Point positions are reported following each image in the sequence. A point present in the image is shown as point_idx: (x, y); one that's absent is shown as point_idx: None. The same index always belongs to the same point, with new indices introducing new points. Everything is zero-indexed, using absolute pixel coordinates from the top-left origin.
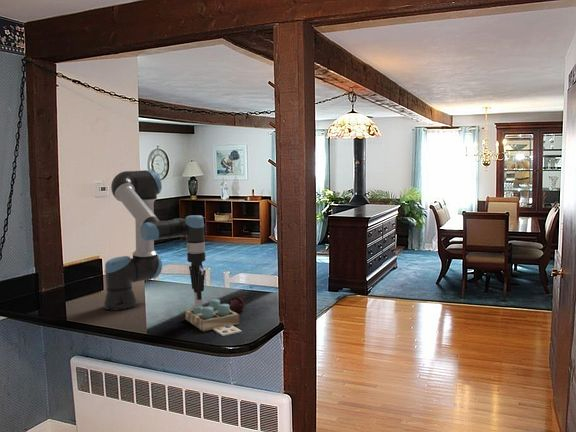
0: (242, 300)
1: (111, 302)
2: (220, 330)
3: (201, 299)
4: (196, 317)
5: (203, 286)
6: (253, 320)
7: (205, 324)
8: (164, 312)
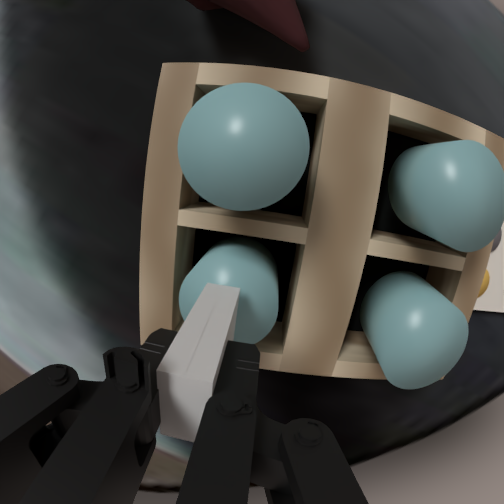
0: None
1: None
2: (492, 296)
3: (230, 325)
4: (354, 376)
5: (357, 495)
6: (466, 55)
7: None
8: (17, 311)
